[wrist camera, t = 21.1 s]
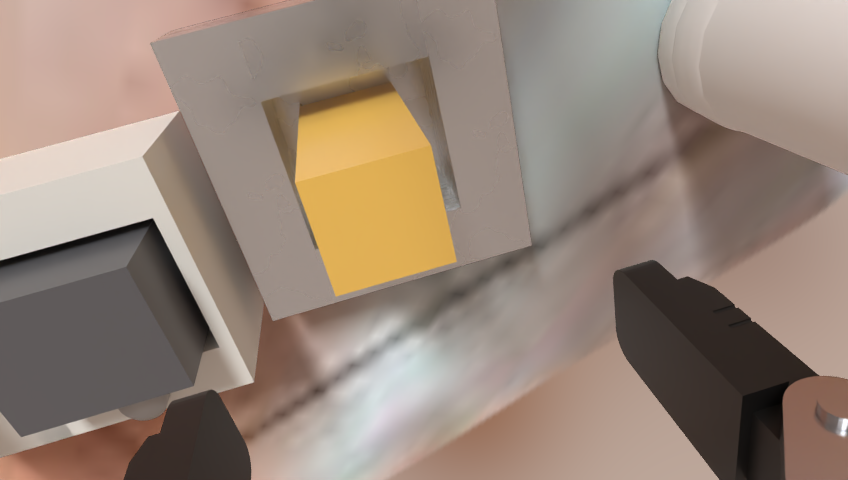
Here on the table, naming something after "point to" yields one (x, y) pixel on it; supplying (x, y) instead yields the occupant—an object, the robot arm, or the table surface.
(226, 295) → the breaker housing
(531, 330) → the table surface
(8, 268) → the block
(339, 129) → the yellow flat-faced block
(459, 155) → the plate
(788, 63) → the bottle
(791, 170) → the table surface
